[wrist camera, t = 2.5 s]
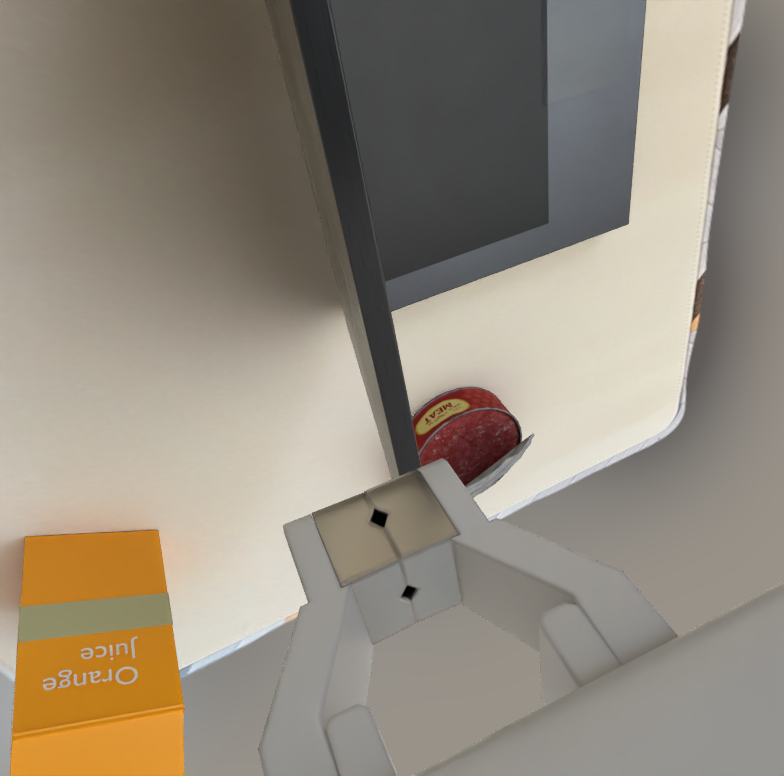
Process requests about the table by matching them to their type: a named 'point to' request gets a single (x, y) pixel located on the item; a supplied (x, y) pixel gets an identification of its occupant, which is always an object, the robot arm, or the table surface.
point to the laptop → (490, 129)
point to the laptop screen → (345, 212)
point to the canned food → (470, 436)
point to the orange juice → (96, 660)
